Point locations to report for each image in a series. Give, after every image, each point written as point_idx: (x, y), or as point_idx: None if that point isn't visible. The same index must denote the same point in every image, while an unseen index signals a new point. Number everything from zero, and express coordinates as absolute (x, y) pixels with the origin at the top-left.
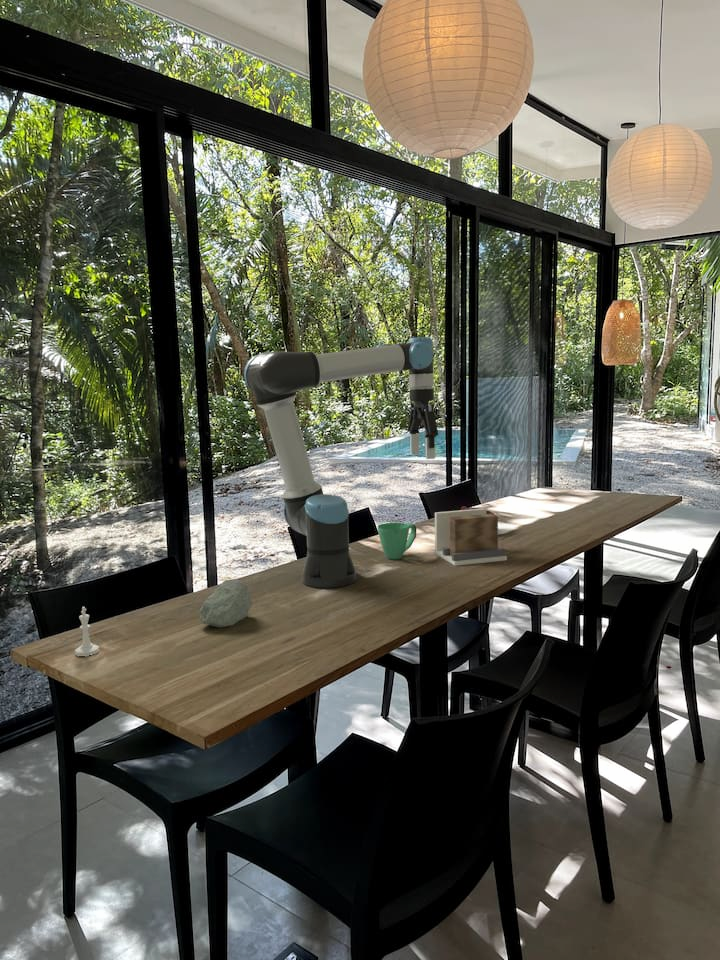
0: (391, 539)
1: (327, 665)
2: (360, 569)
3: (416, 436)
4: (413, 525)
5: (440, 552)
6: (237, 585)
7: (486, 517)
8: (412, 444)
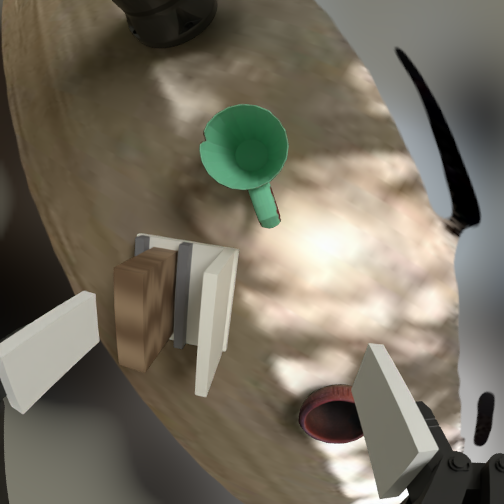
0: (217, 130)
1: (7, 24)
2: (203, 66)
3: (386, 469)
4: (257, 216)
5: (209, 247)
6: None
7: (117, 341)
8: (385, 395)
